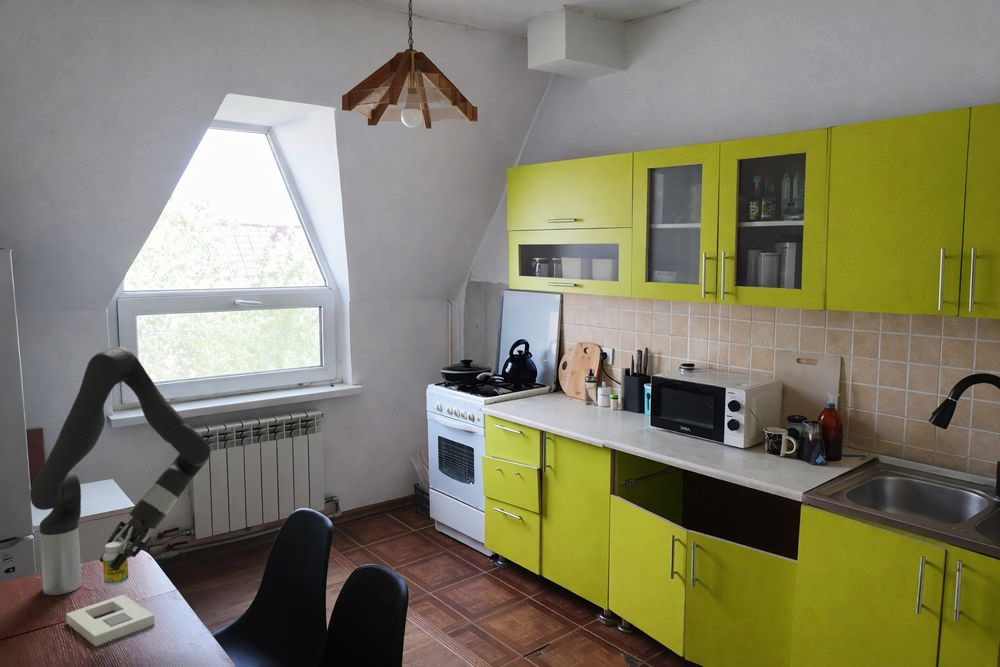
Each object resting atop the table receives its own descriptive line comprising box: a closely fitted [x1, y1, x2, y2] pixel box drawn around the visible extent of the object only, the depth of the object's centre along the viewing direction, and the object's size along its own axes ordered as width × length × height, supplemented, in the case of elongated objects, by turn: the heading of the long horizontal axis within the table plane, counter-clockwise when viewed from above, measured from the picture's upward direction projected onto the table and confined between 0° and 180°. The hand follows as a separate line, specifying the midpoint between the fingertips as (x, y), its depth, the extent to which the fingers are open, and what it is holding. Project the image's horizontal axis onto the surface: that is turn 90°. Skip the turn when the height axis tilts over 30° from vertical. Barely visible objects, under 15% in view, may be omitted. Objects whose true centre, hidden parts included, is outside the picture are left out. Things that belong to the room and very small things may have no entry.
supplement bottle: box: [102, 542, 130, 586], centre depth 178 cm, size 5×5×10 cm
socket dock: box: [65, 594, 156, 647], centre depth 182 cm, size 18×14×3 cm
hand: (107, 565), depth 176 cm, fingers closed on supplement bottle, 5 cm apart
